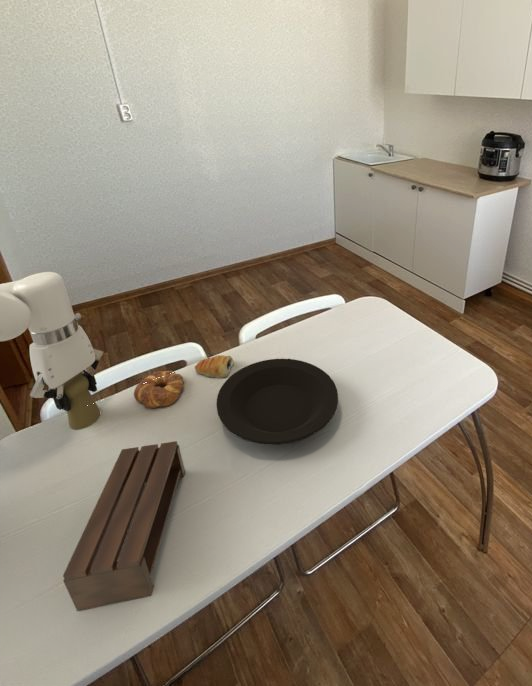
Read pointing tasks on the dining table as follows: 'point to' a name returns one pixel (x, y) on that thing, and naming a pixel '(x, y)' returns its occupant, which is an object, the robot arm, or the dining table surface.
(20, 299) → the robot arm
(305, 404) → the plate
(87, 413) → the olive green shaker
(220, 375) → the pastry
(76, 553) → the rack
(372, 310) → the dining table surface
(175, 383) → the ring bread
